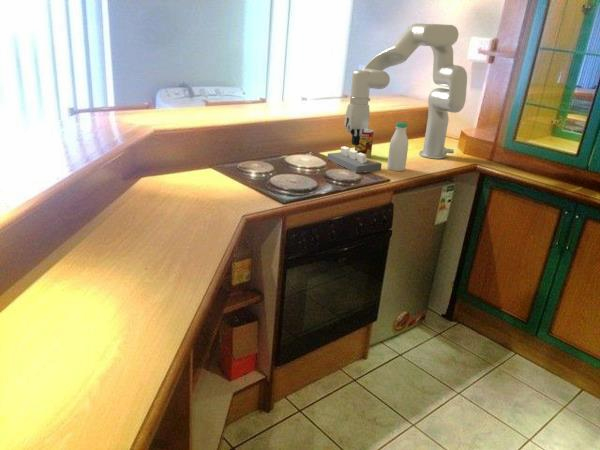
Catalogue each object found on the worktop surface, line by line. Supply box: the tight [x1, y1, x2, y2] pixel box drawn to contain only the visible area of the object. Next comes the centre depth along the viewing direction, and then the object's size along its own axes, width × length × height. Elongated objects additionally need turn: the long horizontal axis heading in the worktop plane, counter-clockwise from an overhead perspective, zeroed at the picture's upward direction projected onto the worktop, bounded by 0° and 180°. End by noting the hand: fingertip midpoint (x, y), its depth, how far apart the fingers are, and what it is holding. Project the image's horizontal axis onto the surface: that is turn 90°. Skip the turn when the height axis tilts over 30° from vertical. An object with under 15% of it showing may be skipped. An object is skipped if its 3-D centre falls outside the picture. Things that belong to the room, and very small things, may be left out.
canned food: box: [354, 128, 374, 159], centre depth 227 cm, size 8×8×12 cm
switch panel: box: [327, 151, 383, 173], centre depth 213 cm, size 13×22×3 cm, turn 30°
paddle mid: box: [349, 148, 358, 160], centre depth 211 cm, size 2×4×3 cm, turn 30°
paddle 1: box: [340, 145, 351, 156], centre depth 216 cm, size 2×4×3 cm, turn 30°
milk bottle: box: [386, 121, 409, 172], centre depth 207 cm, size 8×8×20 cm
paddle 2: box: [357, 152, 367, 163], centre depth 207 cm, size 2×4×3 cm, turn 30°
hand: (355, 144), depth 210 cm, fingers closed
